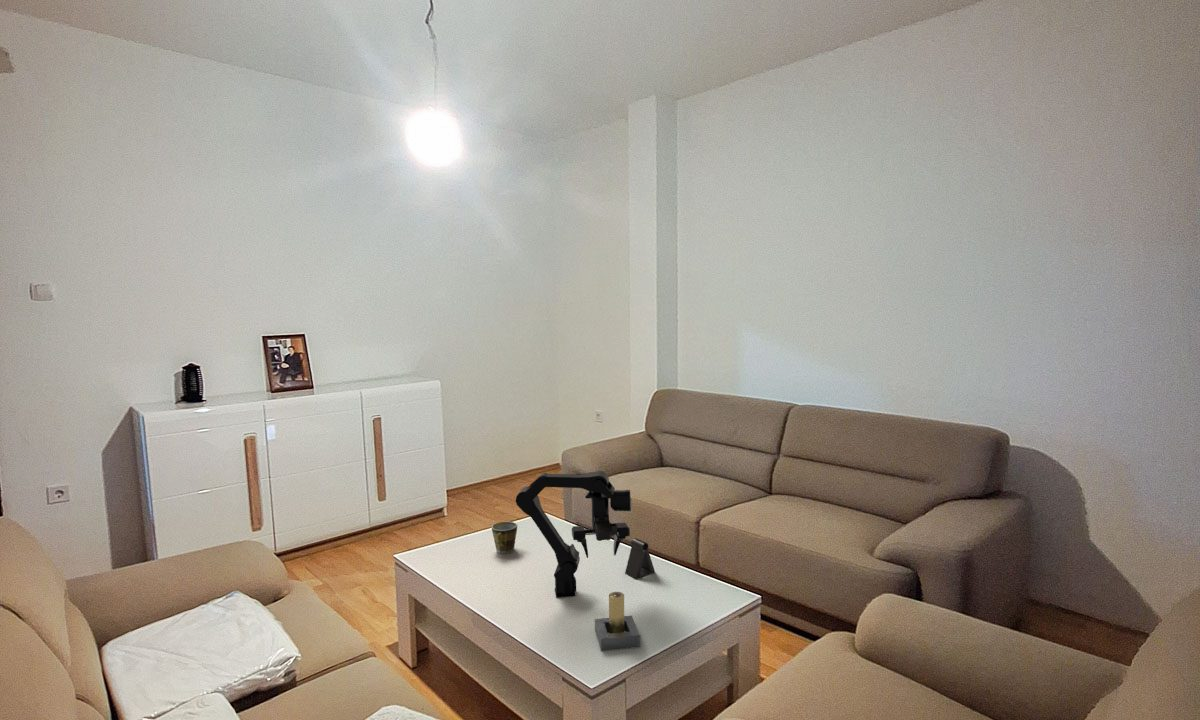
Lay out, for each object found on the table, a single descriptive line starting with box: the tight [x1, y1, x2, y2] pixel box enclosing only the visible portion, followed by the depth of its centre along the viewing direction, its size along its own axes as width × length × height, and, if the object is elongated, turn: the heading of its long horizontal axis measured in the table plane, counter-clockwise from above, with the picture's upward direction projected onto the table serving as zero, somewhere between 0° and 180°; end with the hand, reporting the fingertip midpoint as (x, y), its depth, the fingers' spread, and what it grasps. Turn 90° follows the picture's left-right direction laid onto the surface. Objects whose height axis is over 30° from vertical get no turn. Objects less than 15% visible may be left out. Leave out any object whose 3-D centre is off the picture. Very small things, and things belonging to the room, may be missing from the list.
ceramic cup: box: [491, 520, 518, 555], centre depth 243 cm, size 13×10×10 cm
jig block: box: [594, 615, 641, 652], centre depth 180 cm, size 11×11×4 cm
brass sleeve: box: [608, 591, 625, 634], centre depth 179 cm, size 4×4×13 cm
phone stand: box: [624, 537, 656, 580], centre depth 222 cm, size 9×6×12 cm, turn 127°
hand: (601, 556), depth 206 cm, fingers open, 9 cm apart
